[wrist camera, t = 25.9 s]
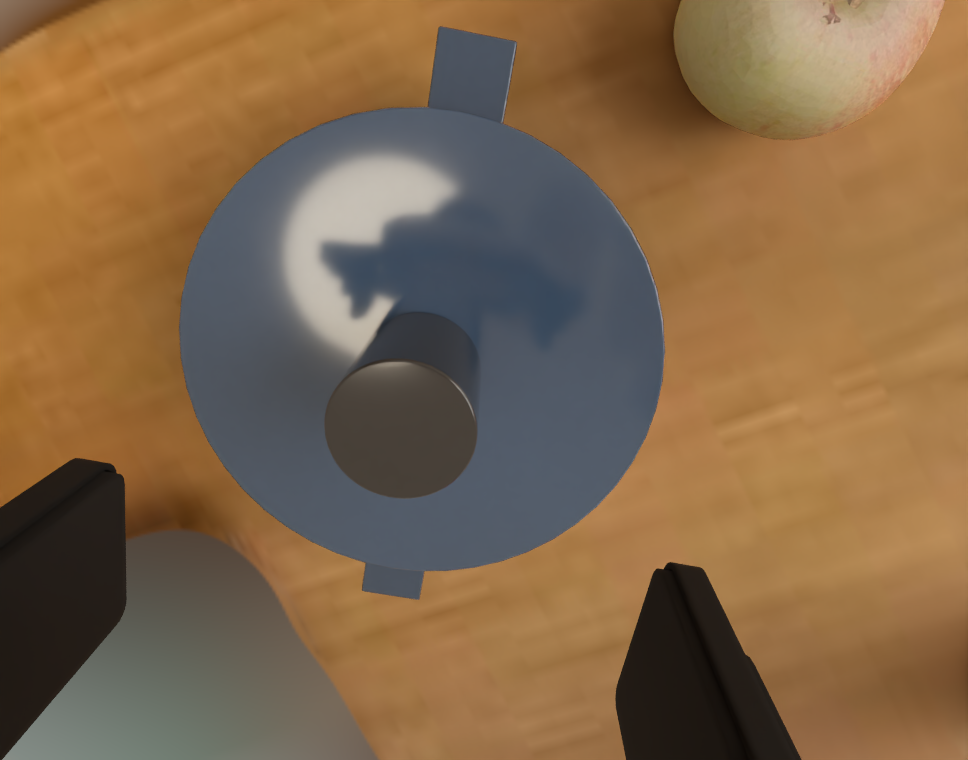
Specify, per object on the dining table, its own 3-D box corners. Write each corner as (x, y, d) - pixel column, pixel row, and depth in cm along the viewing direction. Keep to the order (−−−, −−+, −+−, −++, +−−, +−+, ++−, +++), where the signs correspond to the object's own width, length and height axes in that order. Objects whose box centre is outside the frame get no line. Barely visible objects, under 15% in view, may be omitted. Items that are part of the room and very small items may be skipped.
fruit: (718, 182, 25) (813, 193, 18) (621, 17, 23) (682, -49, 16) (894, 58, 24) (1082, 13, 16) (806, -131, 22) (972, -282, 14)
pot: (675, 99, 24) (735, 80, 18) (559, 544, 31) (575, 637, 25) (281, 21, 24) (208, -26, 18) (253, 494, 31) (194, 577, 24)
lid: (716, 162, 20) (811, 165, 14) (594, 581, 25) (625, 711, 19) (200, 62, 19) (68, 20, 13) (190, 517, 24) (94, 631, 18)
